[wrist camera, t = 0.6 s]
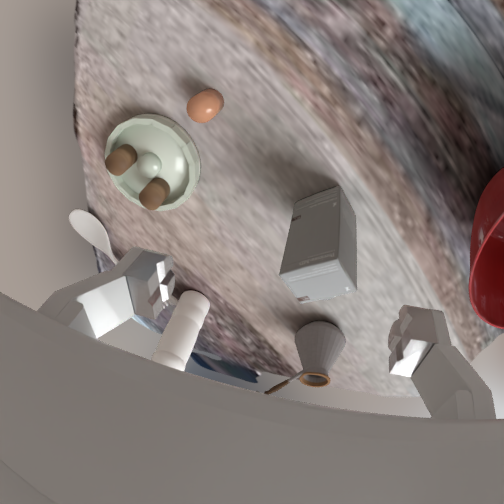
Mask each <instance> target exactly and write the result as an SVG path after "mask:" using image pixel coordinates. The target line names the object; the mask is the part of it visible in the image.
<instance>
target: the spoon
mask: <svg viewBox="0 0 504 504" xmlns="http://www.w3.org/2000/svg"><path fill="white" fill-rule="evenodd" d="M69 221H70V223H71V225H72V226H73V228H74V229H75V230H76V231H77V232H78V233H79V234H80V235H81V236H82V237H83V238H85V239H86V240H87V241H88V242H89V243H91V244H92V245H94V246H95V247H97V248H98V249H100V250H101V251H103V252H104V253H106V254H107V255H108V256H109V257H110V259H111V260H112V261H113V262H114V263H115V265H116V264H117V263H118V262H119V261H118V260H117V259H116V258H115V256H114V254H113V252H112V250H111V245H110V240H109V237H108V234H107V232H106V230H105V228H104V226H103V225H102V224H101V222H100V221H99V220H98V219H97V218H96V217H95V216H93V215H92V214H91V213H89V212H87V211H85V210H81V209H74V210H73V211H71V213H70V214H69ZM167 301H168V302H169V303H170V304H171V305H172V303H173V304H174V305H177V304H178V300H177V299H176V298H175V297H174V296H173V295H171V296H170V298H169V299H168V300H166V301H163V302H164V303H165V305H167V306H168V302H167ZM163 308H165V307H164V304H163Z"/></svg>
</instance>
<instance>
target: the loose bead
mask: <svg viewBox="0 0 504 504" xmlns="http://www.w3.org/2000/svg"><path fill="white" fill-rule="evenodd" d="M223 106H224V99H223V96H222V95H221V94H220V93H219V92H218V91H217V90H215V89H206V90H203V91H202V92H200V93H199V94H197V95H195V96H194V97H192V98H191V99H190V100H189V101H188V103H187V113H188V115H189V117H190V118H191V119H192V120H194V121H195V122H198V123H205V122H208V121H209V120H211V119H212V118H213V117H214V116H215V115H216V114H218V113H219V112H220V111H221V110H222V108H223Z"/></svg>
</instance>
